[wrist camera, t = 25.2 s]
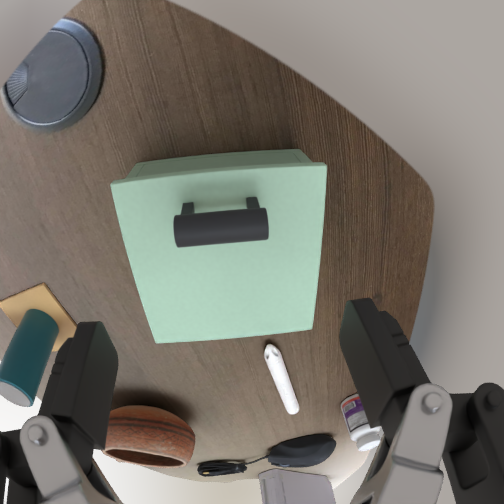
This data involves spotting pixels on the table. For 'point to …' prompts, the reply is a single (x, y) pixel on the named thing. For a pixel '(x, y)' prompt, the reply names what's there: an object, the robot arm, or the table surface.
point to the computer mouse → (282, 455)
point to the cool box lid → (225, 248)
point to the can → (27, 357)
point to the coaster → (42, 301)
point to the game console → (295, 488)
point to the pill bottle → (359, 424)
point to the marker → (281, 378)
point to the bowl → (148, 437)
